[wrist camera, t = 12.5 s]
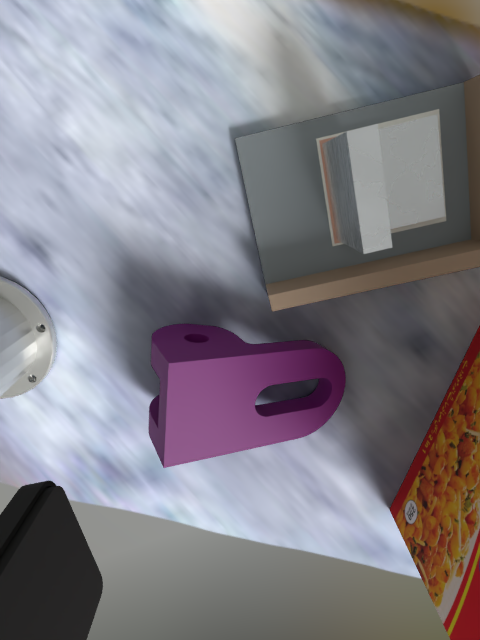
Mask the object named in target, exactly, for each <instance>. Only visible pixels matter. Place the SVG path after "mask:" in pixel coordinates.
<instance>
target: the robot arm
mask: <svg viewBox="0 0 480 640" xmlns="http://www.w3.org/2000/svg"><path fill="white" fill-rule="evenodd" d="M43 325H44V326H45V327H44V326H43ZM56 352H57V339H56V332H55V329H54V326H53V323H52V320H51V318H50V317H49V315H48V313H47V311H46V309H45V308H44V307H43V306H42V304H41V303H40V302H39V301H38V299H37V298H36V297H34V296H33V295H32V294H31V293H30V292H29V291H28V290H26V289H25V288H23V287H22V286H20V285H19V284H17V283H15V282H13V281H11V280H8V279H6V278H4V277H1V276H0V399H3V398H12V397H15V396H19V395H22V394H24V393H26V392H28V391H30V390H32V389H33V388H34V387H36V386H37V385H38V384H39V383H40V382H41V381H42V380H43V379H44V378H45V377H46V376H47V375H48V373H49V371H50V370H51V368H52V366H53V364H54V361H55V357H56ZM102 588H103V582H102V576H101V574H100V571H99V569H98V566H97V564H96V562H95V560H94V557H93V555H92V553H91V551H90V549H89V546H88V544H87V541H86V539H85V537H84V535H83V533H82V530H81V528H80V526H79V523H78V521H77V519H76V517H75V514H74V512H73V510H72V507H71V505H70V503H69V501H68V498H67V496H66V494H65V491H64V490H63V488H62V487H60V486H56V485H55V483H53V482H52V481H45V482H39V483H34V484H29V485H25V486H22V487H21V488H20V489H19V490H18V491H17V493H16V494H15V495H14V497H13V498H12V500H11V501H10V502H9V504H8V505H7V507H6V508H5V509H4V511H3V512H2V513H1V515H0V640H86V639H87V637H88V634H89V631H90V628H91V625H92V622H93V619H94V615H95V612H96V609H97V606H98V603H99V601H100V598H101V594H102Z"/></svg>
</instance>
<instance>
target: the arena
mask: <svg viewBox="0 0 480 640" xmlns="http://www.w3.org/2000/svg"><path fill="white" fill-rule="evenodd" d="M436 114H437V116H438V129H439V142H440V155H441V168H442V181H443V194H444V207H445V217H441V218H436V219H432V220H428V221H424V222H419V223H415V224H411V225H407V226H402V227H398V228H394V229H390V231H391V239H392V248H388V249H384V250H379V251H375V252H371V253H367V254H363V253H361V252H359V251H357V250H355V249H353V248H351V247H349V246H348V245H346V244H344V243H342V242H340V241H338V240H337V236H336V230H335V224H334V218H333V212H332V205H331V199H330V193H329V187H328V180H327V174H326V168H325V162H324V155H323V149H322V144H323V143H325V142H327V141H329V140H331V139H333V138H335V137H337V136H339V135H341V134H343V133H345V132H347V131H351V130H355V129H359V128H363V127H367V126H370V125H374V124H378V129H381V128H385V127H389V126H393V125H397V124H401V123H405V122H409V121H413V120H417V119H421V118H424V117H428V116H432V115H436ZM235 142H236V147H237V151H238V156H239V161H240V166H241V170H242V175H243V180H244V185H245V189H246V194H247V199H248V204H249V208H250V213H251V218H252V223H253V227H254V232H255V237H256V242H257V246H258V251H259V256H260V261H261V265H262V270H263V275H264V280H265V285H266V289H267V294H268V298H269V302H270V306H271V309H272V311H277V310H282V309H286V308H291V307H295V306H300V305H305V304H309V303H314V302H319V301H323V300H328V299H333V298H337V297H342V296H347V295H351V294H356V293H360V292H365V291H370V290H374V289H379V288H384V287H388V286H393V285H398V284H402V283H407V282H411V281H416V280H421V279H425V278H430V277H435V276H439V275H444V274H449V273H453V272H458V271H463V270H467V269H472V268H476V267H480V75H478V76H476V77H474V78H472V79H470V80H468V81H465V82H463V83H458V84H454V85H450V86H446V87H442V88H438V89H434V90H430V91H426V92H422V93H418V94H414V95H409V96H405V97H401V98H397V99H393V100H389V101H385V102H381V103H377V104H373V105H369V106H365V107H361V108H356V109H352V110H348V111H344V112H340V113H336V114H332V115H328V116H324V117H320V118H316V119H312V120H307V121H303V122H299V123H295V124H291V125H287V126H283V127H279V128H275V129H271V130H267V131H263V132H259V133H254V134H250V135H246V136H242V137H238V138H235Z"/></svg>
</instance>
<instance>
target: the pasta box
mask: <svg viewBox="0 0 480 640" xmlns="http://www.w3.org/2000/svg"><path fill="white" fill-rule="evenodd" d="M390 512H391V514H392V516H393V518H394V520H395V522H396V524H397V526H398V529H399V531H400V533H401V535H402V537H403V539H404V541H405V544H406V546H407V548H408V550H409V552H410V554H411V556H412V558H413V561H414V563H415V565H416V567H417V569H418V571H419V573H420V576H421V578H422V580H423V582H424V584H425V586H426V588H427V590H428V593H429V595H430V597H431V599H432V601H433V603H434V605H435V607H436V610H437V612H438V614H439V616H440V618H441V620H442V622H443V625H444V627H445V629H446V631H447V633H448V635H449V637H450V640H480V326H479V328H478V330H477V332H476V334H475V336H474V338H473V340H472V342H471V344H470V346H469V348H468V350H467V352H466V354H465V356H464V358H463V360H462V362H461V365H460V367H459V369H458V371H457V373H456V375H455V377H454V379H453V381H452V383H451V385H450V387H449V389H448V391H447V393H446V395H445V397H444V399H443V401H442V403H441V405H440V407H439V409H438V411H437V413H436V416H435V418H434V420H433V422H432V424H431V426H430V428H429V430H428V432H427V434H426V436H425V438H424V440H423V442H422V444H421V446H420V448H419V450H418V452H417V454H416V456H415V458H414V460H413V462H412V464H411V466H410V469H409V471H408V473H407V475H406V477H405V479H404V481H403V483H402V485H401V487H400V489H399V491H398V493H397V495H396V497H395V499H394V501H393V503H392V505H391V507H390Z"/></svg>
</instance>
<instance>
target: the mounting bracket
mask: <svg viewBox="0 0 480 640" xmlns="http://www.w3.org/2000/svg"><path fill="white" fill-rule="evenodd" d="M151 366H152V368H153V369H154V371H155V372H156V374H157V376H158V377H159V379H160V394H159V395H158V396H157V397H155V398H154V399H153V400H152V402H151V404H150V407H149V436H150V438H151V440H152V443H153V445H154V447H155V449H156V452H157V454H158V456H159V458H160V461H161V463H162V465H163V467H164V468H166V467H170V466H175V465H179V464H184V463H188V462H193V461H197V460H202V459H207V458H211V457H216V456H220V455H225V454H229V453H234V452H238V451H243V450H248V449H252V448H257V447H261V446H266V445H270V444H275V443H279V442H284V441H289V440H293V439H298V438H301V437H304V436H307V435H309V434H311V433H313V432H315V431H316V430H317V429H319V428H320V427H321V426H323V425H324V424H325V423H326V422H327V421H328V420H329V419H330V417H331V416H332V415H333V414H334V412H335V411H336V409H337V407H338V406H339V404H340V401H341V399H342V396H343V393H344V389H345V382H346V377H345V370H344V367H343V364H342V362H341V361H340V359H339V358H338V357H337V356H336V355H335V354H334V353H332V352H331V351H329V350H327V349H326V348H324V347H322V346H321V345H319V344H317V343H315V342H313V341H308V340H297V341H286V342H275V343H264V344H248V343H246V342H244V341H243V340H242V339H240V338H239V337H238V336H237V335H235V334H234V333H232V332H230V331H228V330H226V329H223V328H220V327H216V326H207V325H196V324H175V325H169V326H165V327H162V328H160V329H158V330H156V331H155V332H154V333H153V334H152V345H151ZM317 378H319V383H318V386H317V388H316V389H315V391H314V392H313V393H312V394H310V395H309V396H307V397H304V398H298V399H292V400H286V401H280V402H274V403H268V404H262V405H255V401H256V398H257V396H258V395H259V393H260V392H261V391H262V390H263V389H264V388H266V387H268V386H270V385H275V384H282V383H289V382H296V381H303V380H310V379H317Z"/></svg>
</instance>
